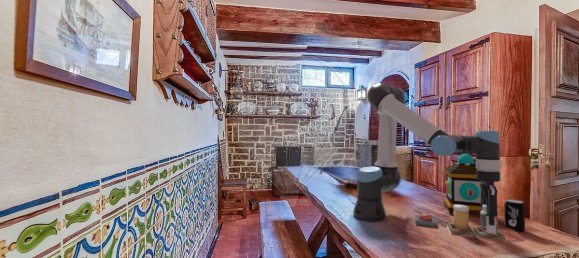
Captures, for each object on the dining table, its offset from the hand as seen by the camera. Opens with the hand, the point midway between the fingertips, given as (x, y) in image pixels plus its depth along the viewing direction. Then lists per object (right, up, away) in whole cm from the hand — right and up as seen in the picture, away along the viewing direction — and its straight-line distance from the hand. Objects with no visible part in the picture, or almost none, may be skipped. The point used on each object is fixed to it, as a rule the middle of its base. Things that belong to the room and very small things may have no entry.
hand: (488, 230), depth 102 cm
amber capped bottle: (-8, -2, +4) cm, 9 cm away
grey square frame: (-18, -3, +13) cm, 22 cm away
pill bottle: (0, -1, 0) cm, 1 cm away
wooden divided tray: (-4, -3, +2) cm, 5 cm away
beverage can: (+18, -3, +9) cm, 21 cm away
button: (-18, -2, +13) cm, 22 cm away
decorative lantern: (+13, -4, +33) cm, 36 cm away
